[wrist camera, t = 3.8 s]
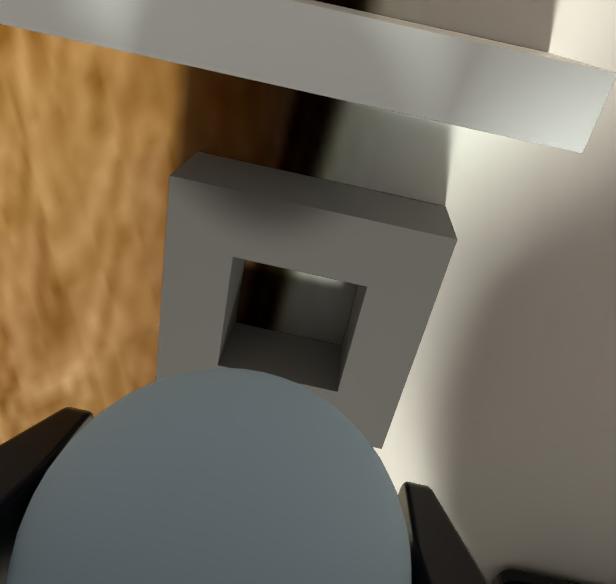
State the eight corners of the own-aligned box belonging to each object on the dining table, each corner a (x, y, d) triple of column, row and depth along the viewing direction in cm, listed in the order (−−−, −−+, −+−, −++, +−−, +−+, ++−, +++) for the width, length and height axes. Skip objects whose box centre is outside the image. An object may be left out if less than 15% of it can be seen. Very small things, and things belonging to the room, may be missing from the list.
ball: (441, 341, 8) (522, 740, 4) (361, 547, 11) (355, 934, 6) (116, 270, 8) (-182, 588, 4) (113, 492, 11) (-71, 843, 6)
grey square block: (445, 206, 13) (457, 239, 11) (380, 398, 16) (381, 448, 14) (197, 151, 13) (169, 175, 11) (178, 353, 16) (154, 398, 14)
